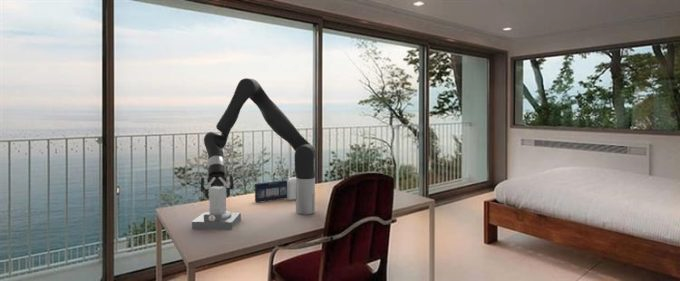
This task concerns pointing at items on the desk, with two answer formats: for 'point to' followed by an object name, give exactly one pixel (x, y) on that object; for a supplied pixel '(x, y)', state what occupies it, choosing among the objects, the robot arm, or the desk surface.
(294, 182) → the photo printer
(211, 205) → the skincare box
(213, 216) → the scale
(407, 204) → the desk surface
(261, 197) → the vhs cassette tape
